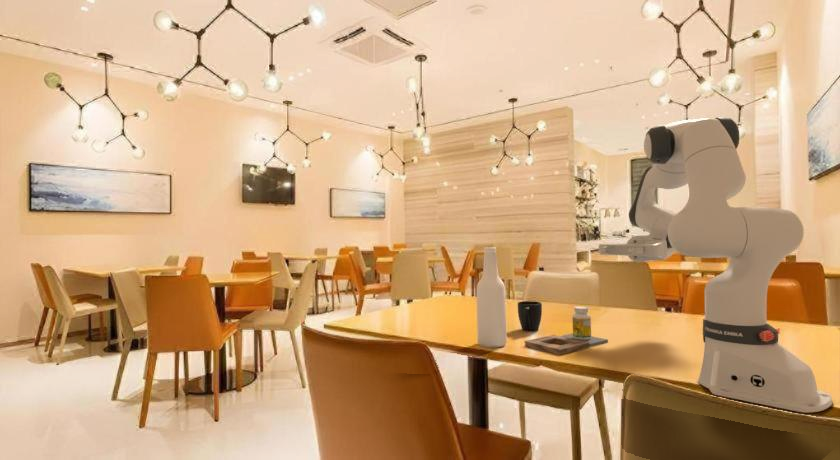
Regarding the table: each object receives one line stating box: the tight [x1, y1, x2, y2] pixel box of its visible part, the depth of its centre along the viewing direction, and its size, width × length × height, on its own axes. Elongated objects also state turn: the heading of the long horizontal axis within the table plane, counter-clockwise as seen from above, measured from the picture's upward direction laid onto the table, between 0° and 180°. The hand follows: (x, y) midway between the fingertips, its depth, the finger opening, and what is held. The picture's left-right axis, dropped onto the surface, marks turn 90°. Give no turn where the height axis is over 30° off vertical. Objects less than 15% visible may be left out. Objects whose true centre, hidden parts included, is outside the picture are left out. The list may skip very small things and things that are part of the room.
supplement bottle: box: [572, 306, 592, 340], centre depth 142 cm, size 5×5×10 cm
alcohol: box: [476, 246, 508, 349], centre depth 140 cm, size 9×9×30 cm
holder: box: [524, 334, 590, 356], centre depth 135 cm, size 13×13×2 cm
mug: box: [517, 300, 543, 333], centre depth 157 cm, size 8×12×10 cm
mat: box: [560, 332, 609, 348], centre depth 142 cm, size 12×9×1 cm
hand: (616, 250), depth 143 cm, fingers open, 8 cm apart
